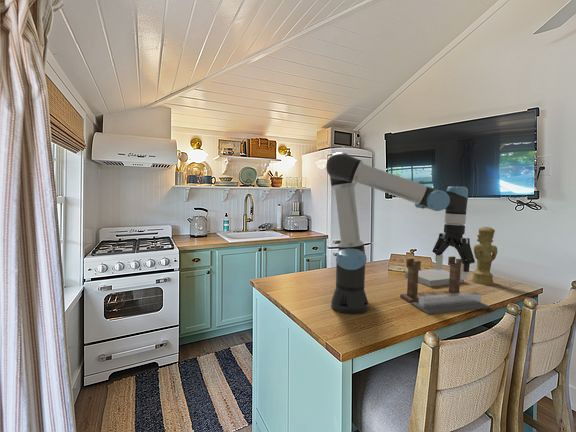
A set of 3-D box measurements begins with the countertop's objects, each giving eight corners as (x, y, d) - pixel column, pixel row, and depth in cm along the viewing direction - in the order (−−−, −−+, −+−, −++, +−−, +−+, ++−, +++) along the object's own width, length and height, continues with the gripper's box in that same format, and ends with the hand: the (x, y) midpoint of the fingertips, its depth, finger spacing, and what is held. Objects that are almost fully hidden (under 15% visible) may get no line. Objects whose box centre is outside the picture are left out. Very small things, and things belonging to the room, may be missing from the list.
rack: (409, 303, 126) (411, 262, 124) (400, 297, 132) (401, 258, 131) (466, 298, 132) (468, 259, 130) (454, 292, 139) (456, 255, 137)
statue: (490, 280, 159) (494, 226, 157) (498, 285, 150) (502, 228, 148) (467, 278, 162) (471, 225, 160) (474, 283, 153) (477, 227, 150)
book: (465, 276, 155) (430, 280, 147) (465, 283, 155) (429, 288, 147) (437, 267, 172) (404, 271, 164) (437, 274, 172) (404, 277, 164)
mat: (427, 314, 114) (427, 312, 114) (411, 304, 124) (411, 302, 124) (489, 308, 121) (489, 306, 121) (469, 299, 131) (469, 297, 131)
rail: (423, 308, 118) (423, 298, 118) (418, 305, 121) (419, 296, 120) (480, 303, 124) (481, 294, 124) (474, 300, 127) (475, 291, 127)
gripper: (489, 228, 108) (483, 283, 110) (440, 220, 132) (436, 266, 134) (472, 228, 107) (467, 284, 109) (426, 220, 131) (422, 266, 133)
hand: (450, 274), depth 121 cm, fingers open, 13 cm apart
